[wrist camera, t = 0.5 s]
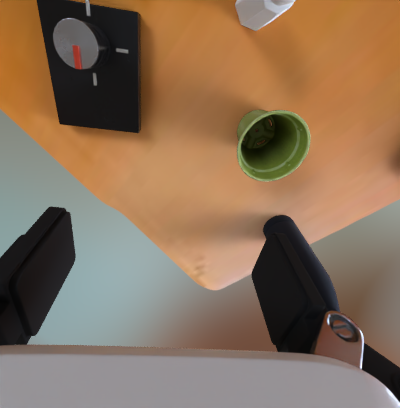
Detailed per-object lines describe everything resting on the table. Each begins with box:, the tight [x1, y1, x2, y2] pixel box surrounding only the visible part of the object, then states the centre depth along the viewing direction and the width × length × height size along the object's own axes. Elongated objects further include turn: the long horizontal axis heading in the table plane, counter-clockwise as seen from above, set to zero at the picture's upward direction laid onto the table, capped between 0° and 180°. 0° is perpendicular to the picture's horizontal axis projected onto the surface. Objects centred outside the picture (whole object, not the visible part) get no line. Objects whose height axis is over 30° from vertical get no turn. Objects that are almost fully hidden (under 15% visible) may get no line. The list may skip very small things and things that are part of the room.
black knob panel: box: [37, 0, 141, 133], centre depth 31 cm, size 14×11×2 cm
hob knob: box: [53, 18, 110, 69], centre depth 26 cm, size 4×4×5 cm
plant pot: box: [237, 110, 310, 181], centre depth 34 cm, size 9×9×9 cm
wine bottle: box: [263, 215, 340, 312], centre depth 36 cm, size 6×6×30 cm
